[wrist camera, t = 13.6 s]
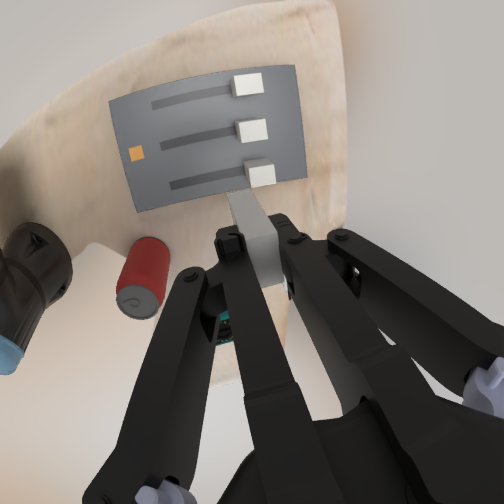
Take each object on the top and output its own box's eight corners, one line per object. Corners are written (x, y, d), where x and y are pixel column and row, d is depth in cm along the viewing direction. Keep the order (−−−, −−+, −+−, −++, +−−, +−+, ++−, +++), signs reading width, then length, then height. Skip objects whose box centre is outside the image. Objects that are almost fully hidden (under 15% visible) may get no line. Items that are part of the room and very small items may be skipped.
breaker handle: (237, 139, 32) (241, 143, 29) (234, 121, 31) (238, 122, 28) (261, 135, 32) (268, 139, 29) (258, 117, 31) (265, 118, 28)
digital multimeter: (261, 324, 53) (264, 335, 51) (191, 344, 53) (191, 355, 51) (252, 298, 49) (255, 308, 47) (176, 320, 49) (176, 331, 47)
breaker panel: (140, 206, 37) (129, 226, 31) (114, 101, 29) (96, 101, 23) (301, 173, 39) (319, 186, 33) (289, 67, 30) (306, 59, 25)
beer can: (126, 237, 39) (105, 284, 29) (167, 233, 40) (157, 280, 30) (135, 273, 42) (120, 324, 32) (173, 270, 43) (167, 322, 33)
